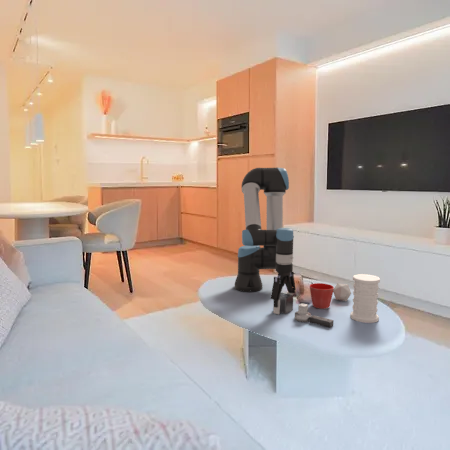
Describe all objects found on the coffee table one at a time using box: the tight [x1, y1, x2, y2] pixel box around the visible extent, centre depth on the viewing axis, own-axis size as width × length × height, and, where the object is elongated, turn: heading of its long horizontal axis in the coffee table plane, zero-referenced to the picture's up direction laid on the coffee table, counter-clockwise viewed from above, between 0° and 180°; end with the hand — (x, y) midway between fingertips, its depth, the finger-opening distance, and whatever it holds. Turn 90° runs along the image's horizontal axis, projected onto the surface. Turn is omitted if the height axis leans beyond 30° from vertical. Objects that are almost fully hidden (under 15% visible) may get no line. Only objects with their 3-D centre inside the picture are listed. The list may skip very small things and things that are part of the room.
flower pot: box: [309, 282, 335, 310], centre depth 181 cm, size 11×11×10 cm
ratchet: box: [294, 302, 334, 329], centre depth 162 cm, size 16×7×6 cm, turn 51°
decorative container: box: [349, 273, 381, 324], centre depth 166 cm, size 12×12×18 cm
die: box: [333, 282, 352, 302], centre depth 190 cm, size 8×9×10 cm
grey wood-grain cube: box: [272, 292, 294, 315], centre depth 176 cm, size 6×6×7 cm
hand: (283, 310), depth 176 cm, fingers open, 11 cm apart
